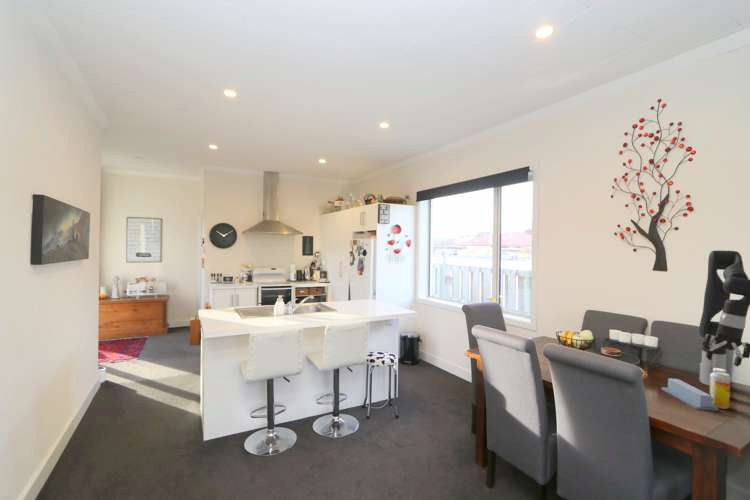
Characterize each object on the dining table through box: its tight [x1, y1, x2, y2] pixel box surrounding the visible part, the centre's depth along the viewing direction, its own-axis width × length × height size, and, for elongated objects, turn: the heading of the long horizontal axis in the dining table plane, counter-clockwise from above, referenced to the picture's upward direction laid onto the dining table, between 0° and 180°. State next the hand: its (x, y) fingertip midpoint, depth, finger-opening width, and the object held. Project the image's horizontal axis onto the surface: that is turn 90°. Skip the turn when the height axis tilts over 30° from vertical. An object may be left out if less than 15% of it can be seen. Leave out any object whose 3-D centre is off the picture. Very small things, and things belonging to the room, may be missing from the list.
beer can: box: [710, 371, 731, 410], centre depth 162 cm, size 6×6×15 cm
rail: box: [661, 378, 720, 412], centre depth 169 cm, size 22×9×6 cm, turn 175°
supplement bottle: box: [709, 368, 727, 395], centre depth 174 cm, size 7×7×13 cm
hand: (722, 362), depth 150 cm, fingers open, 8 cm apart
